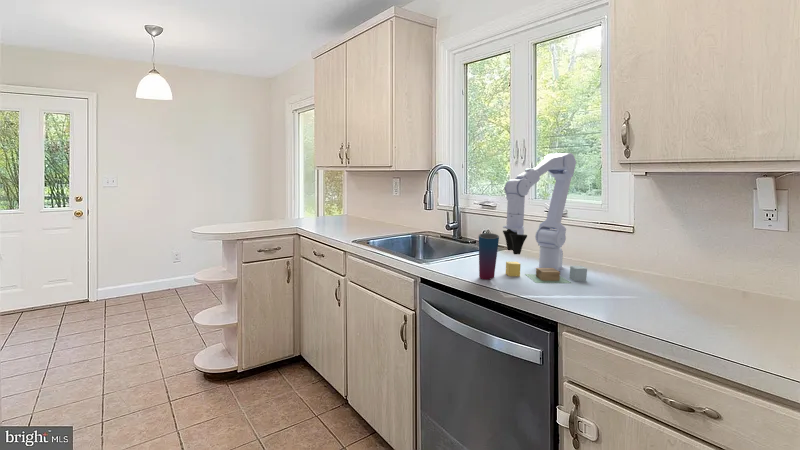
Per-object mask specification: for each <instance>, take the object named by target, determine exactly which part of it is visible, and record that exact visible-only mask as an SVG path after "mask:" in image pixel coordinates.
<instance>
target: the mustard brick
mask: <svg viewBox="0 0 800 450" xmlns="http://www.w3.org/2000/svg"><path fill="white" fill-rule="evenodd" d="M521 264H522V263H520V262H518V261H506V262H505V274H506V275H507V277H520V276H521Z"/></svg>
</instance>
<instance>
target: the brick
mask: <svg viewBox="0 0 800 450" xmlns="http://www.w3.org/2000/svg"><path fill="white" fill-rule="evenodd" d="M587 275H588V268H587V267H584V266H582V265H570V267H569V279H570V280H571V281H573V282H587V279H588V276H587Z"/></svg>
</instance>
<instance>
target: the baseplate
mask: <svg viewBox="0 0 800 450" xmlns="http://www.w3.org/2000/svg"><path fill="white" fill-rule="evenodd" d="M524 275H525V276H526V277H527V278H529V279H530V280H532V282H534V283H536V284H572V282H571V281H570V280H568V279H566V278H565V277H563V276H561V275H560V281H542V280H540V279H539V278H538V277H536V273H535V274H534V273H529V274H528V273H525V274H524Z"/></svg>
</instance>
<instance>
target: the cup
mask: <svg viewBox="0 0 800 450" xmlns="http://www.w3.org/2000/svg"><path fill="white" fill-rule="evenodd" d="M499 241H500V236H499V235H498V234H496V233H491V232H483V233H479V234H478V272H479V273H478V275H479V278H480V279H481V280H484V281H490V280H491V279H493V278H495V272H496V266H497V256H498V249H499Z"/></svg>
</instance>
